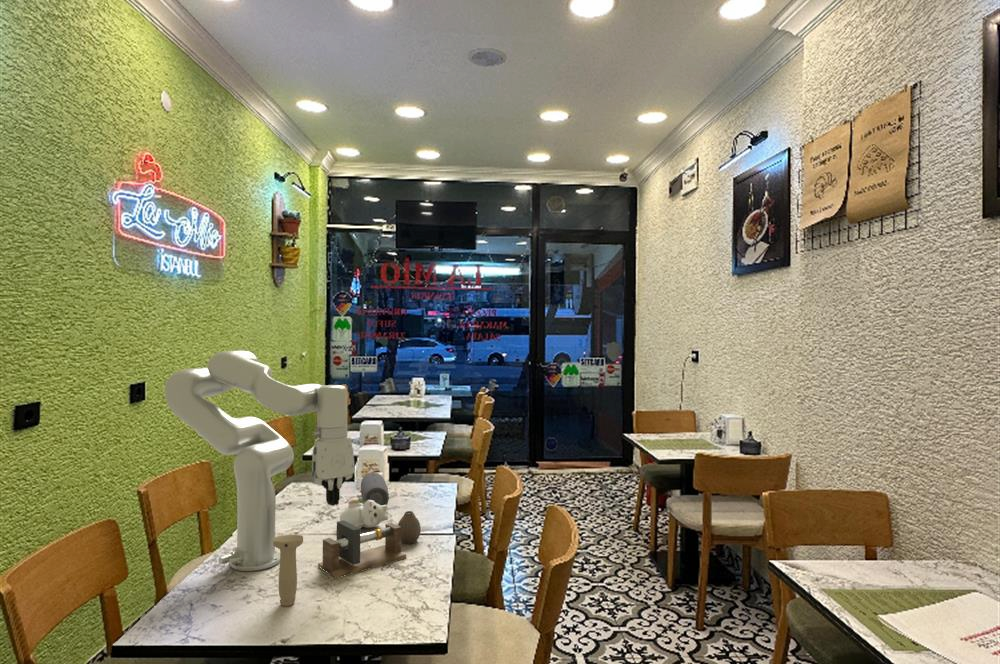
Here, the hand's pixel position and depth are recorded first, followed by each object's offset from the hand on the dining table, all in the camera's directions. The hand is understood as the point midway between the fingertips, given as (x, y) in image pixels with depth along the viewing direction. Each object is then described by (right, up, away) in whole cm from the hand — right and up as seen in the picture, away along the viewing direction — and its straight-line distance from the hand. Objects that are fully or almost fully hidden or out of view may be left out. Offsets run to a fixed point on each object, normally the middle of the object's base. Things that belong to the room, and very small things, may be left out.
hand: (332, 503), depth 157 cm
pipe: (+6, -13, +7) cm, 16 cm away
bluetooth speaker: (-2, -18, +59) cm, 62 cm away
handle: (-5, -18, -18) cm, 26 cm away
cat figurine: (0, -18, +35) cm, 39 cm away
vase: (+16, -18, +23) cm, 33 cm away
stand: (+6, -18, +7) cm, 20 cm away
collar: (+3, -16, +4) cm, 16 cm away
